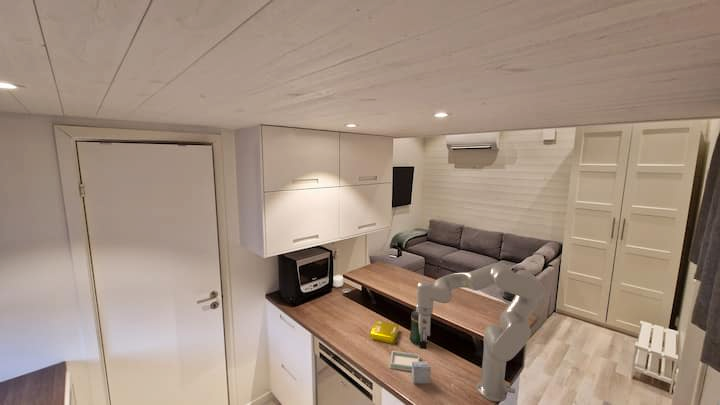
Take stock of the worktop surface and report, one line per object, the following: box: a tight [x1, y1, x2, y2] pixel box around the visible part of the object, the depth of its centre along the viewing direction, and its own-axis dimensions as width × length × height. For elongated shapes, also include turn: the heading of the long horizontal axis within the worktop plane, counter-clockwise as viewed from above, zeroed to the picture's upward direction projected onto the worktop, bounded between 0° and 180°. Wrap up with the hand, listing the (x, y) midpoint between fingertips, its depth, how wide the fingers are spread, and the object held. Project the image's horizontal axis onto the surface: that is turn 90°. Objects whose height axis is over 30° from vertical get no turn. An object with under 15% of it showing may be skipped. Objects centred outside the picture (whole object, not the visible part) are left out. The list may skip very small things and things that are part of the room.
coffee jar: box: [409, 310, 423, 346], centre depth 171 cm, size 10×8×19 cm
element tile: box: [369, 320, 400, 345], centre depth 177 cm, size 15×15×5 cm
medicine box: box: [411, 360, 431, 384], centre depth 140 cm, size 8×4×9 cm, turn 92°
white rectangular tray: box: [389, 350, 420, 372], centre depth 153 cm, size 15×11×2 cm
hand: (422, 342), depth 138 cm, fingers open, 9 cm apart
